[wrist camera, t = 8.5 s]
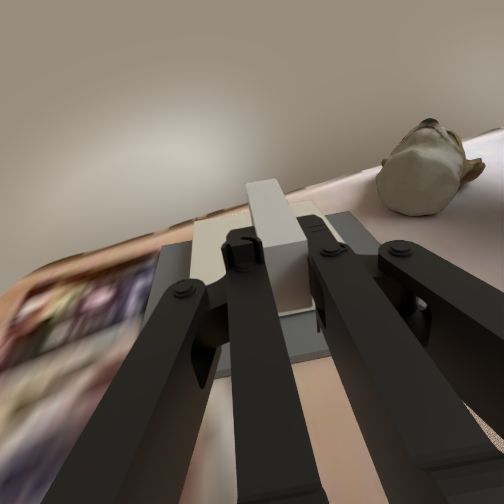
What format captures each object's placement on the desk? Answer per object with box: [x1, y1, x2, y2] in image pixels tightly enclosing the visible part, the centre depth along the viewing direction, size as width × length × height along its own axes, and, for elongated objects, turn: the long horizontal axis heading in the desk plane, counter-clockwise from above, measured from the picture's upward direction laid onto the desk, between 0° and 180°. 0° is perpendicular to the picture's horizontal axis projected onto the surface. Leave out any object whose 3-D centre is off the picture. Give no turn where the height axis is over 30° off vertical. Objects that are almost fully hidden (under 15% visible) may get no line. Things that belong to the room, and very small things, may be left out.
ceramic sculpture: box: [376, 118, 485, 216], centre depth 36 cm, size 11×9×15 cm
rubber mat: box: [140, 211, 427, 379], centre depth 28 cm, size 20×18×1 cm
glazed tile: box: [190, 200, 346, 316], centre depth 29 cm, size 12×2×14 cm
